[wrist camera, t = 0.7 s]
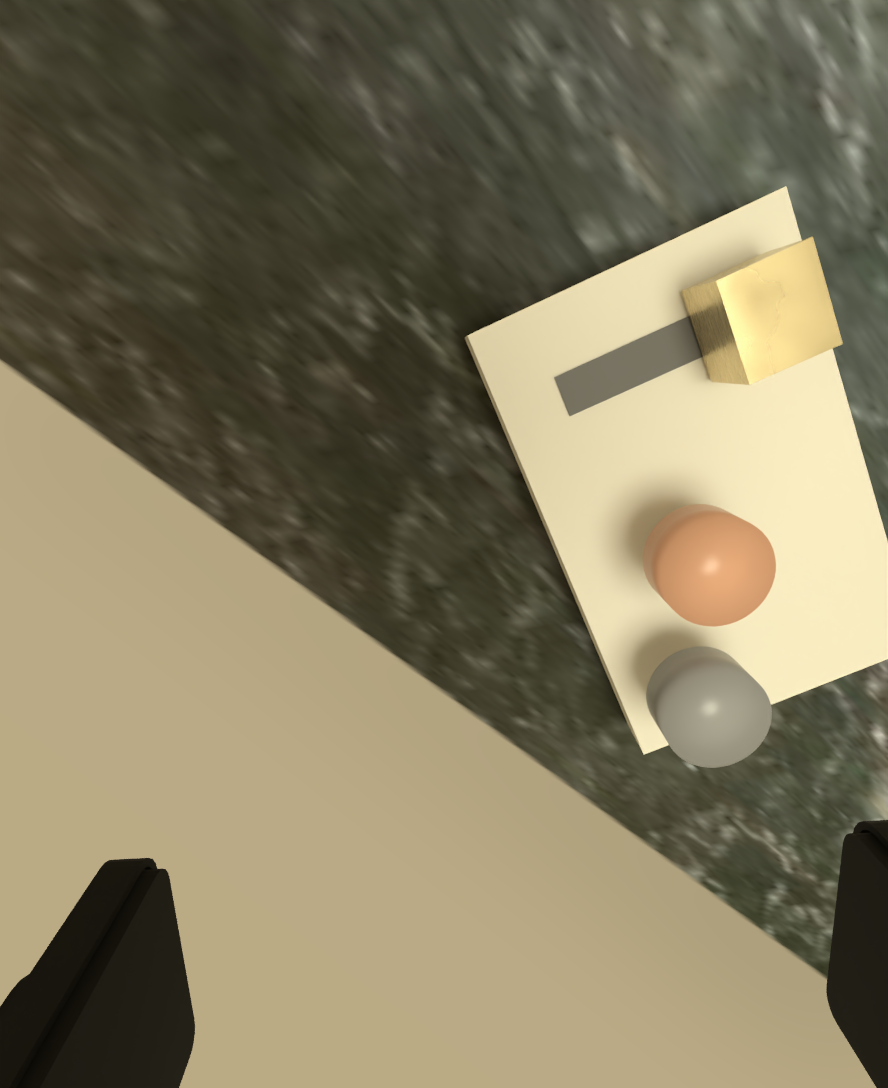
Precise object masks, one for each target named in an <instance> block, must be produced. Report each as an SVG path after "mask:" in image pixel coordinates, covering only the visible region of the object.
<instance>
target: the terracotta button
mask: <svg viewBox="0 0 888 1088" xmlns="http://www.w3.org/2000/svg"><path fill="white" fill-rule="evenodd" d="M643 568H644V572H645V575H646V578H647V580H648V582H649V584H650V585H651V587H652V588H653V589H654V590H655V591H656V592H657V593H658V594H659V596H660V597H661V598H662V599H663V600H664V601H665V602H666V603H667V604H668V605H669V606H670V607H671V608H672V609H673V610H674V611H675V612H676V613H677V614H678V615H679V616H681V617H682V618H684V619H685V620H687V621H689V622H691V623H694V624H697V625H702V626H713V627H715V626H723V625H728V624H731V623H734V622H737V621H739V620H741V619H743V618H745V617H746V616H748V615H749V614H751V613H752V612H753V611H754V610H756V609H757V608H758V607H759V606H760V605H761V603H762V602H763V601H764V600H765V598H766V597H767V595H768V593H769V592H770V589H771V587H772V585H773V582H774V578H775V572H776V560H775V554H774V550H773V548H772V545H771V543H770V542H769V540H768V538H767V537H766V536H765V535H764V533H763V532H762V531H761V530H759V529H758V528H757V527H756V526H754V525H753V524H751V523H749V522H747V521H745V520H743V519H741V518H739V517H737V516H735V515H733V514H731V513H730V512H728V511H726V510H724V509H721V508H719V507H716V506H713V505H707V504H695V505H689V506H684V507H682V508H679V509H677V510H675V511H673V512H671V513H669V514H668V515H666V516H665V517H664V518H663V519H661V520H660V521H659V522H658V523H657V525H656V526H655V527H654V528H653V530H652V531H651V533H650V535H649V536H648V538H647V541H646V543H645V547H644V551H643Z"/></svg>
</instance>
